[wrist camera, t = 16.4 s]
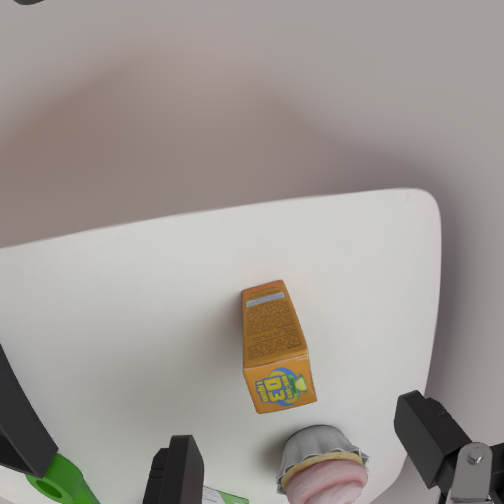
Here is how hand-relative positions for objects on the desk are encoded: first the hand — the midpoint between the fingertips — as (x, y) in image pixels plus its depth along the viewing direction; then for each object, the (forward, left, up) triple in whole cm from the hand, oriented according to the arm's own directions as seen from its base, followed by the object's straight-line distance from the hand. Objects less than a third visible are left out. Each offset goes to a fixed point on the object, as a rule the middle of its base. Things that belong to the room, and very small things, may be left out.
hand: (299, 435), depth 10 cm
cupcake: (+17, +3, -13) cm, 22 cm away
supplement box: (0, 0, -13) cm, 13 cm away
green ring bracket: (+25, -31, -13) cm, 42 cm away
